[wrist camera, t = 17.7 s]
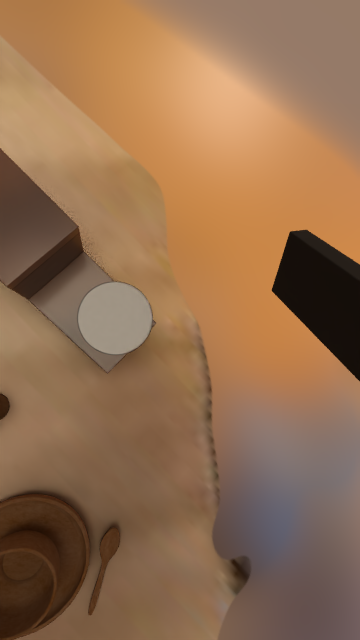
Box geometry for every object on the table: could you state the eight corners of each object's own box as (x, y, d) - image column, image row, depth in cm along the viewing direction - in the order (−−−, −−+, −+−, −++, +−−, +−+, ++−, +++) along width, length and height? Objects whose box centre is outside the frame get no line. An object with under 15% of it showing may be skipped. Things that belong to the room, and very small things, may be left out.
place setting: (-107, 617, 25) (-168, 697, 19) (-24, 388, 28) (-56, 399, 22) (95, 625, 29) (94, 694, 23) (149, 424, 32) (159, 441, 26)
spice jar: (75, 327, 27) (59, 317, 17) (111, 293, 28) (115, 266, 18) (111, 362, 28) (116, 370, 18) (145, 327, 29) (167, 317, 19)
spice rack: (-31, 242, 29) (-109, 181, 18) (23, 200, 30) (-20, 124, 20) (107, 370, 31) (109, 382, 21) (150, 325, 33) (172, 316, 22)
